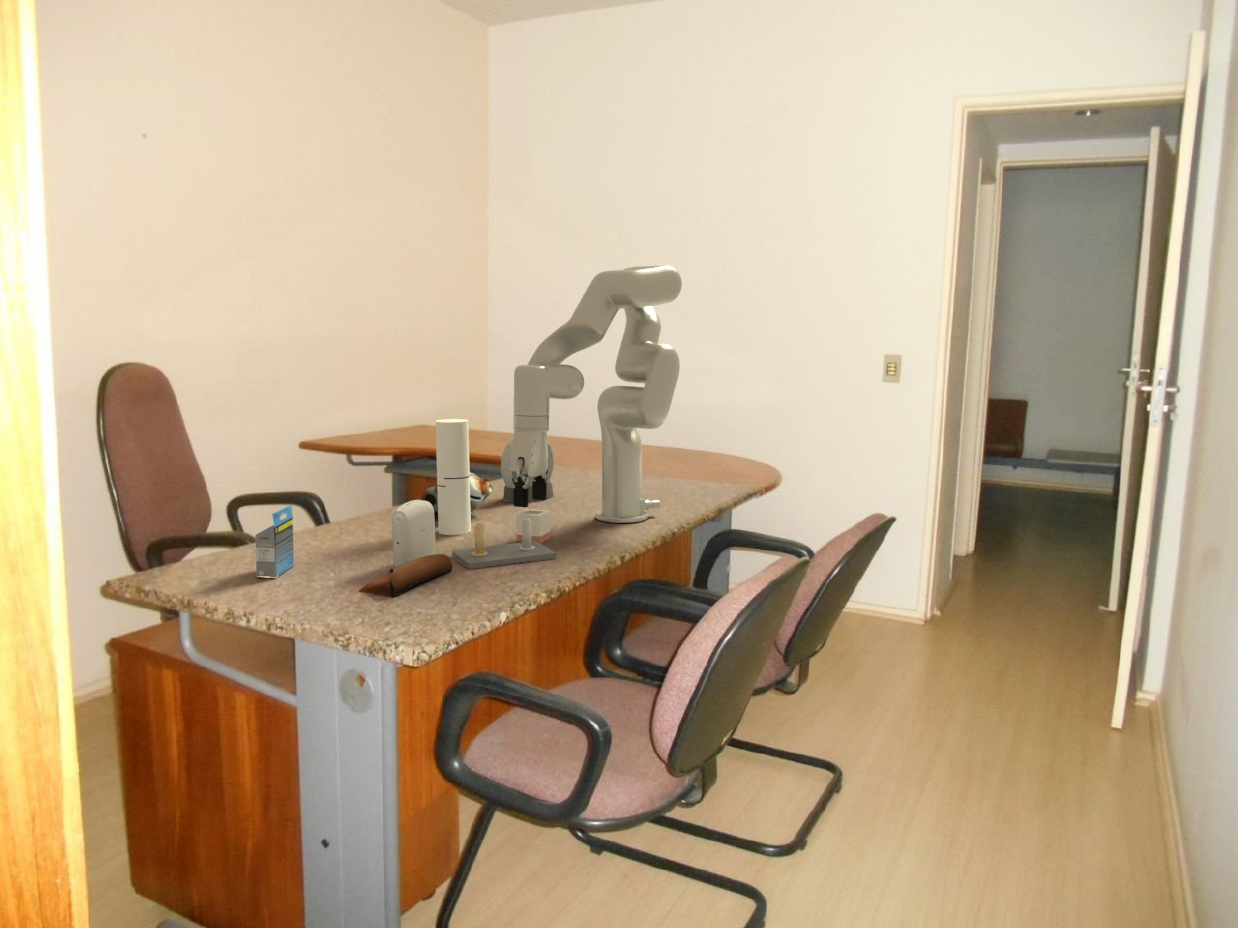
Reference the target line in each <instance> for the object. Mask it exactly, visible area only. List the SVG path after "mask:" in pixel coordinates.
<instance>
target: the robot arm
mask: <svg viewBox="0 0 1238 928" xmlns="http://www.w3.org/2000/svg"><path fill="white" fill-rule="evenodd" d="M682 283H683V282H682V277H681V275H680V273H679V271H678V269H676V268H674V267H673V266H670V265H645V266H644V265H639V266H638V265H637V266H631V267H626V268H624V269H620V270H618V269H616V270H605V271H601V272H599V273H597V274H596V275H595V276H594V277H593V278H592V280H591V281H590V283H589V285H588V286H587V288H586V290H585V292H584V293H583V295H582V297H581V299H580V301H579V302H578V304H577V306H576V308H575V309H574V311H573V313H572V315H571V316H570V318H569V320H567V322H565V323H564V324H562V325H560V327H558V328H557V329H556V330H555V331H553V332H552V333H551V334H549V335H548V336H547V337H546V338H545V339H544V340H543V341H542V342H541V343H539V345H538V346H537V347H536V348H535V351H534V352H533V354H532V356H531V357H530V359H529V360H528V362H527V364H521V365H517V366H516V367H515V369H514V372H513V428H512V429H513V435H512V437H513V441H512V450H511V466H510V474H511V476H512V481H513V488H514V495H513V502H512V503H513V505H512V506H513V507H515V508H516V507H517V508H528V507H529V503H528V498H529V488H527V485H528V482H529V479H530V478H534V481H532V499H533V500H544V501H547V500H546V495H547V473H548V464H549V460H548V442H547V440H548V432H549V431H550V399H553V400H554V399H555V400H571V399H574V398H576V397H577V396H579V395H580V394H581V393H582V391H583V390H584V387H585V377H584V375H583V373H582V371H580V369H579V368H577V367H576V366H573V365H570V364H564V363H563V362H564V361H565V360H566V359H568V358H569V357H570V356H572V355H575V354H576V353H579V352H581V351H583V350H586V349H589V348H591V347H593V346H594V345H597V344H598V343H600V342H601V341H602V340H603V339H604V337H605V336H606V333H607V332H608V330H609V328H610V326H611V324H612V323H613V321H614V319H615V317H616V315H617V313H618V311H619V310H620V309H623V310H624V314H625V327H624V331H623V335H622V338H621V342H620V345H619V348H618V352H617V356H616V360H615V365H614V366H615V367H614V368H615V374H616V376H617V377H618V379H620V380H621V381H623V382H626V383H633V384H644V386H643V387H642V386H631V385H614V386H613V385H612V386H609V387H607V388H605V389H604V390H602V392H601V393H600V395H599V397H598V400H597V406H596V407H597V414H598V415H597V416H598V419H599V423H600V424H599V425H600V431H601V434H600V435H601V509H600V510H598V511H596V512H595V518H596V520H598V521H602V522H607V523H614V524H616V523H617V524H620V523H621V524H623V523H624V524H625V523H626V524H628V523H630V524H631V523H639V522H643V521H645V520H647V519H648V518H649V513H648V511H647V510H649V509H657V508H660V506H661V502H660V500H659V499H652V500H650V499H645V498H643V494H642V493H643V492H642V491H643V490H642V489H643V488H642V487H643V482H642V481H643V474H642V473H643V443H642V439H641V436H640V433H639V432H638V430H637V429H642V430H643V429H644V430H655V429H658V428H660V427H661V426H662V425H663V424H664V423H665V422H666V420H667V417H668V415H669V412H670V409H671V405H672V401H673V397H674V394H675V391H676V387H677V382H678V379H679V374H680V366H681V365H680V357H679V354H678V351H676V349H675V348H674V347H673V346H671V345H670V344H666V343H659V340H660V336H661V335H660V334H661V331H662V330H661V329H662V325H661V324H662V323H661V319H660V316H659V314H658V313H657V311H656V308H655V306H660V305H664V304H669V303H671V302H674V301H675V300H676V299H678V297H679V296H680V293H681V290H682V285H683V284H682ZM522 479H524V482H523V480H522Z"/></svg>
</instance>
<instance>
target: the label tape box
mask: <svg viewBox="0 0 1238 928" xmlns="http://www.w3.org/2000/svg"><path fill="white" fill-rule="evenodd" d="M292 507H293V506H292V504H289V505H288V506H286V507H284V508H281V509H279V510H277V511H274V512H272V513H271V515H272V522H273V524H272V525H271V526H269V527H267V528H265V529H263V530H262V531H260V532H258V533H256V534H255V538H254V539H255V563H256V564H255V570H256V577H257V576H270V577H277V576H278V575H280V574H281V573H283V572H284V573H286V572H287V571H289V570H290V569H292V568H293V567H294V566H295V565H294V561H295V560H294V529H293V528H294V523H293V522H294V521H293V518H294V517H293V508H292ZM283 515H286V516H285V517H283V518H281V517H282V516H283ZM292 566H293V567H292ZM291 567H292V568H291ZM289 568H290V569H289ZM288 569H289V570H288ZM286 570H287V571H286ZM285 571H286V572H285ZM284 573H283V574H284ZM280 576H281V575H280Z"/></svg>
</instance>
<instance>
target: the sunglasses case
mask: <svg viewBox="0 0 1238 928" xmlns="http://www.w3.org/2000/svg"><path fill="white" fill-rule="evenodd" d="M452 571H453V561H452V560H451V558H450V557H449V556H448V555H446V554H444V553H438V554H437V553H436V554H434V555H428V556H424V557H420V558H417V559H414V560H412V561H410V562H408V563H405V564H402V565H398V566H397V567H392V568H389V572H386V573H385V574H383V575H380V576H378V577H377V578H374V579H372V580H371V581H369V582H368V583H366V584H364V585H363V586H362V587H361V588H360V589H359V590H358V593H362V594H364V593H365V594H370V595H377V596H382V597H388V598H389V597H390V598H393V597H394V596H397V595H400V594H402V593H403V592H405V591H406V590H408V589H410V588H412V587H414V586H415V585H418V583H422V582H425V581H427V580H429V579H431V578H434V577H437V576H440V575H442V574H443V573H445V572H446V573H447V572H448V573H450V572H452Z"/></svg>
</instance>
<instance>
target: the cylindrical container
mask: <svg viewBox="0 0 1238 928" xmlns="http://www.w3.org/2000/svg"><path fill="white" fill-rule="evenodd" d="M434 421H435V445H436V447H435V451H436V454H435V455H436V480H437V481H436V482H437V483H436V484H438V485H437V489H438V516H437V517H438V519H437V520H438V534H440V535H444V536H461V535H467V534H469V532H470V533H471V532H472V522H471V521H472V520H471V519H472V517H471V515H472V514H471V509H470V476H469V475H470V472H471V471H470V466H471V465H470V436H469V435H470V431H469V419H465V418H463V419H462V418H447V419H446V418H444V419H443V418H442V419H437V420H434Z"/></svg>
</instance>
